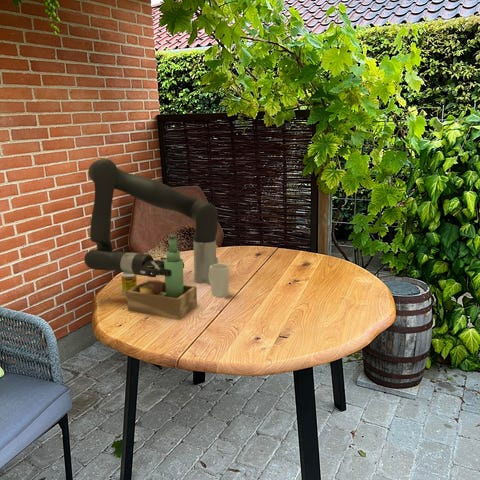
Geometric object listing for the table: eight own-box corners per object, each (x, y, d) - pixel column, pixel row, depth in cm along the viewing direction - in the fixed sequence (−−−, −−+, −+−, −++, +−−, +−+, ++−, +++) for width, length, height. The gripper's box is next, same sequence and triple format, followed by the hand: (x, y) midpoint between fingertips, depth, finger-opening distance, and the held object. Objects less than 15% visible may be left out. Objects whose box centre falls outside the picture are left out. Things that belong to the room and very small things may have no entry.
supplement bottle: (125, 296, 167) (123, 271, 164) (120, 292, 171) (118, 267, 169) (139, 293, 170) (137, 268, 167) (134, 289, 174) (132, 265, 172)
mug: (232, 296, 167) (232, 266, 164) (218, 301, 163) (218, 270, 160) (215, 289, 174) (215, 260, 171) (202, 293, 170) (201, 264, 167)
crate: (149, 299, 164) (147, 277, 162) (197, 307, 157) (196, 284, 154) (128, 313, 152) (126, 288, 150) (179, 322, 145) (178, 296, 143)
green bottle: (180, 305, 156) (177, 232, 150) (187, 311, 151) (184, 235, 144) (164, 308, 154) (160, 234, 147) (170, 314, 148) (166, 238, 142)
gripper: (123, 259, 147) (166, 264, 141) (147, 248, 159) (187, 253, 154) (125, 280, 149) (167, 286, 143) (148, 268, 161) (188, 273, 155)
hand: (177, 269), depth 148 cm, fingers open, 8 cm apart
